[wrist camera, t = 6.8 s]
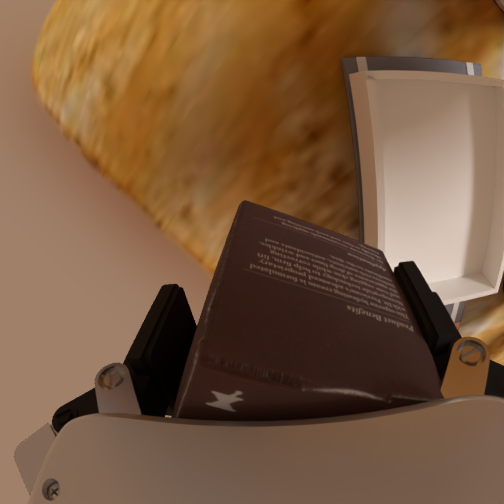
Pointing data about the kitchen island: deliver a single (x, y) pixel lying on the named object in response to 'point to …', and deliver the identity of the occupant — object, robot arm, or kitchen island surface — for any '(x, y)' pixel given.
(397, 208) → the white tray
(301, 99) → the kitchen island surface
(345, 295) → the box
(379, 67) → the rail board
